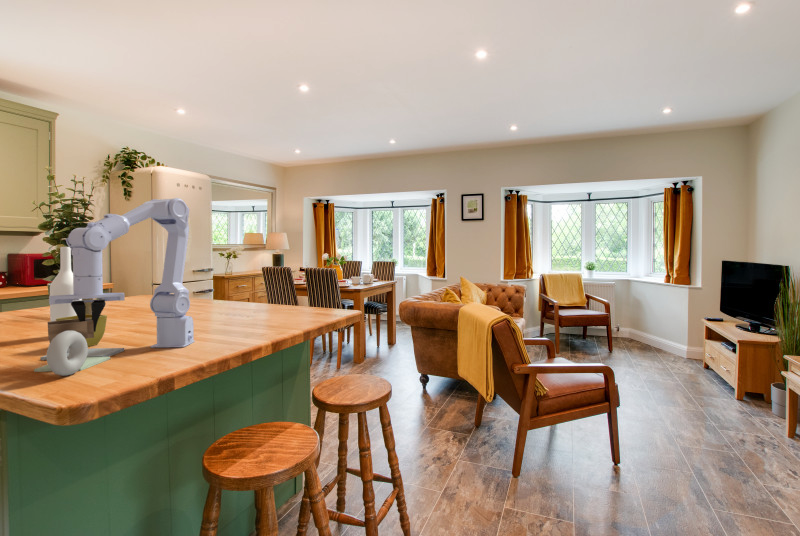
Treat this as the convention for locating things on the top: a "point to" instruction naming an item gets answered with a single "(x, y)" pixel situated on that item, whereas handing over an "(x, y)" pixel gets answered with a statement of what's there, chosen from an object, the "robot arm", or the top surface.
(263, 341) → the top surface
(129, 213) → the robot arm
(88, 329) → the c link
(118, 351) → the stand
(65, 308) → the bottle
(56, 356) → the donut
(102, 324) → the flower pot
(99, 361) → the pad
